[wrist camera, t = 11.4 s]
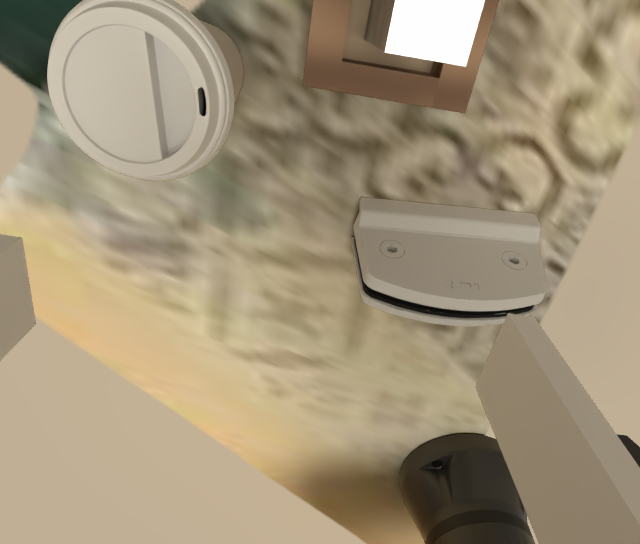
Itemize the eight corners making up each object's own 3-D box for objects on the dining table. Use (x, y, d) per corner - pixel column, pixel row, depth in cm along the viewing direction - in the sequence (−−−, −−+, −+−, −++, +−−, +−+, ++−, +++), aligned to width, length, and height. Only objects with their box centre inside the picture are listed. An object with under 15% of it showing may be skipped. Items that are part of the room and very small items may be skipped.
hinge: (540, 214, 41) (576, 302, 34) (518, 250, 45) (547, 336, 38) (356, 196, 40) (357, 283, 34) (349, 234, 44) (348, 319, 37)
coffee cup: (239, 150, 39) (195, 218, 25) (128, 101, 37) (18, 147, 24) (282, 34, 34) (254, 45, 21) (157, -28, 32) (43, -58, 19)
